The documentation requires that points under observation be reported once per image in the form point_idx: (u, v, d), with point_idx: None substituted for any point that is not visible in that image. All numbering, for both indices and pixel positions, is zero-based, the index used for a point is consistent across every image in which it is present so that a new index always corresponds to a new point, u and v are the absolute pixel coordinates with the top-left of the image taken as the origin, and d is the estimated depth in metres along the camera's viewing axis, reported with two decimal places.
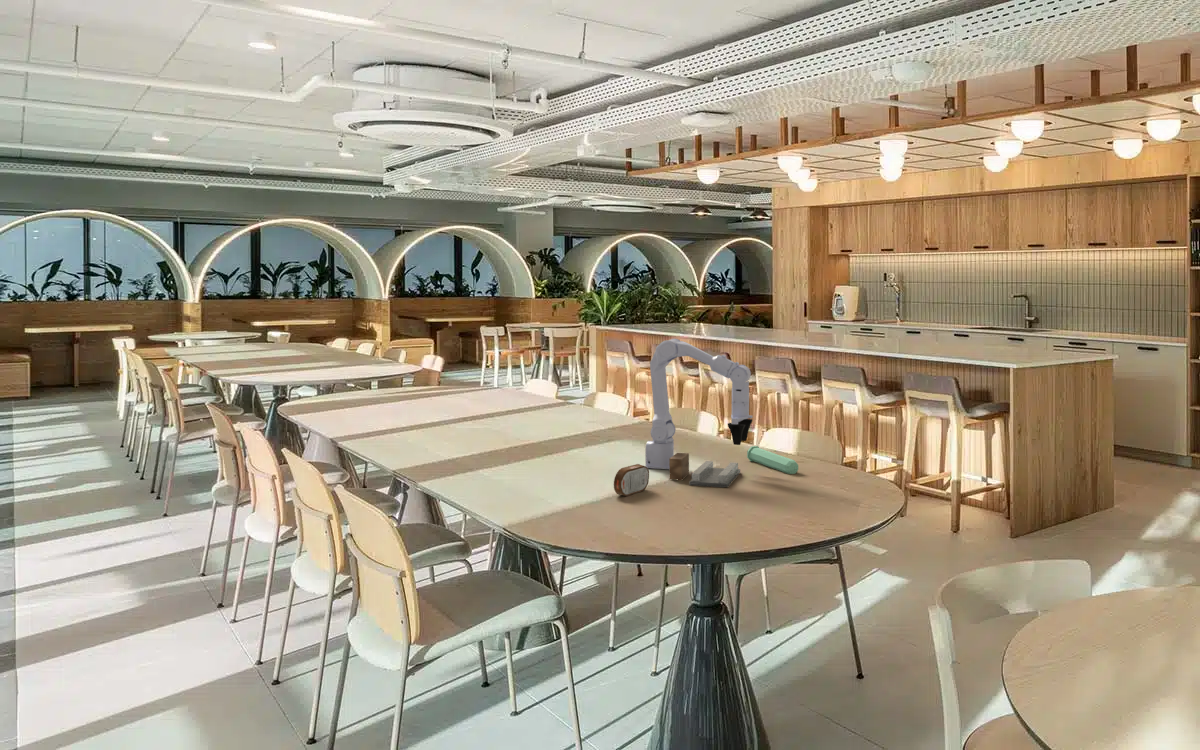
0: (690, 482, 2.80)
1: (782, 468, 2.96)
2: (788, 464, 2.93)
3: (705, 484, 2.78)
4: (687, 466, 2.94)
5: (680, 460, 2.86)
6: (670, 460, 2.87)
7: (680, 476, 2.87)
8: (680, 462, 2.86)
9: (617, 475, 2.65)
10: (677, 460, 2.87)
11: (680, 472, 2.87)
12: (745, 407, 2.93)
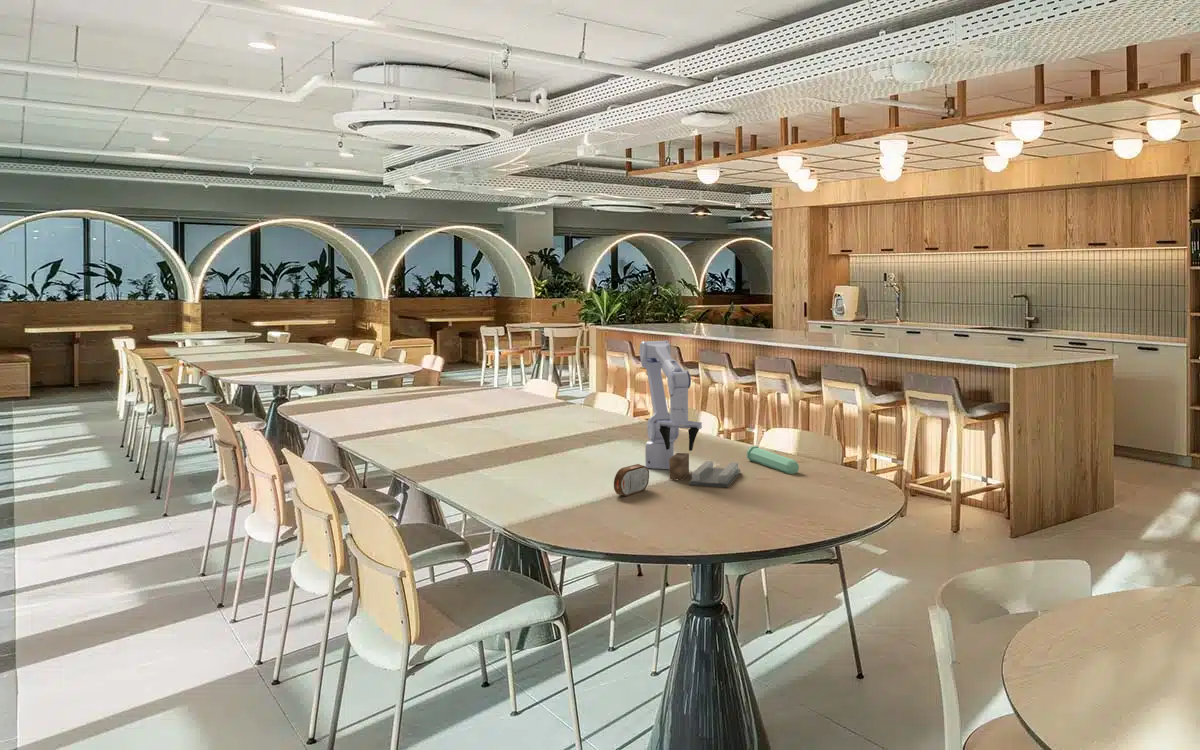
0: (690, 482, 2.80)
1: (782, 468, 2.96)
2: (788, 464, 2.93)
3: (705, 484, 2.78)
4: (687, 466, 2.94)
5: (680, 460, 2.86)
6: (670, 460, 2.87)
7: (680, 476, 2.87)
8: (680, 462, 2.86)
9: (617, 475, 2.65)
10: (677, 460, 2.87)
11: (680, 472, 2.87)
12: (672, 413, 2.89)
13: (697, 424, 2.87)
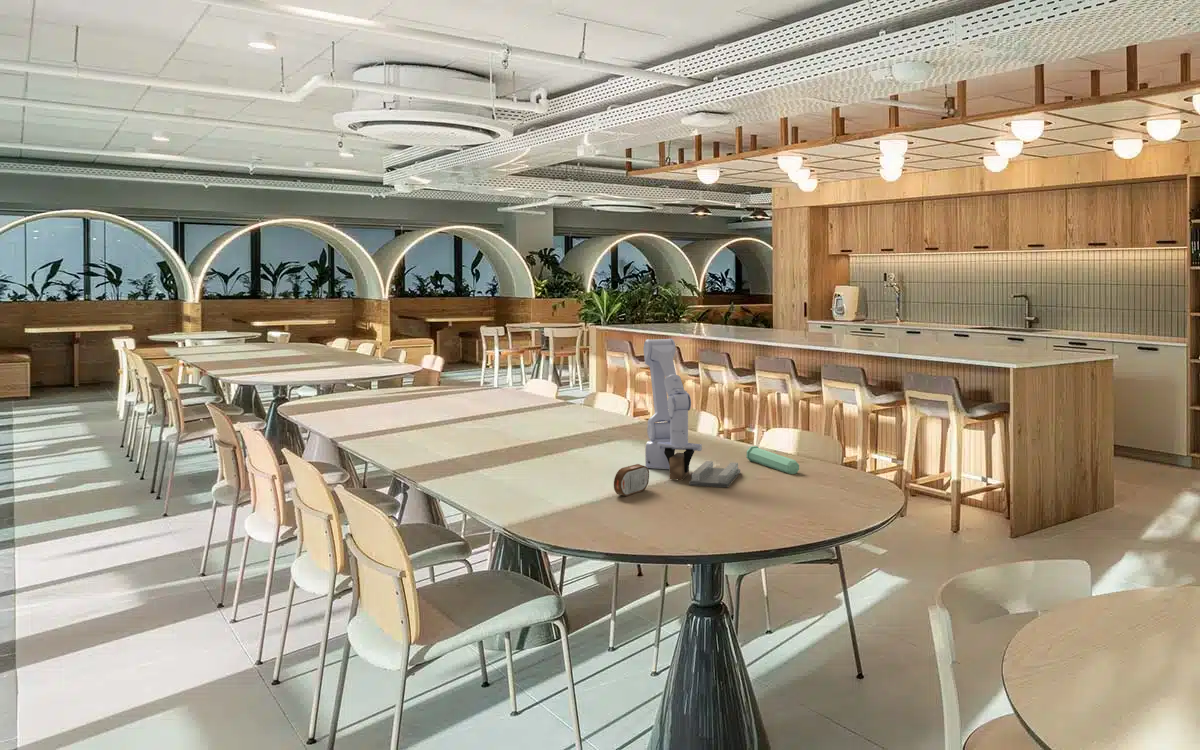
0: (690, 482, 2.80)
1: (783, 468, 2.96)
2: (789, 464, 2.93)
3: (705, 484, 2.78)
4: None
5: (680, 460, 2.86)
6: (670, 460, 2.87)
7: (680, 476, 2.87)
8: (680, 462, 2.86)
9: (617, 475, 2.65)
10: (677, 460, 2.87)
11: (680, 472, 2.87)
12: (672, 435, 2.89)
13: (697, 446, 2.88)
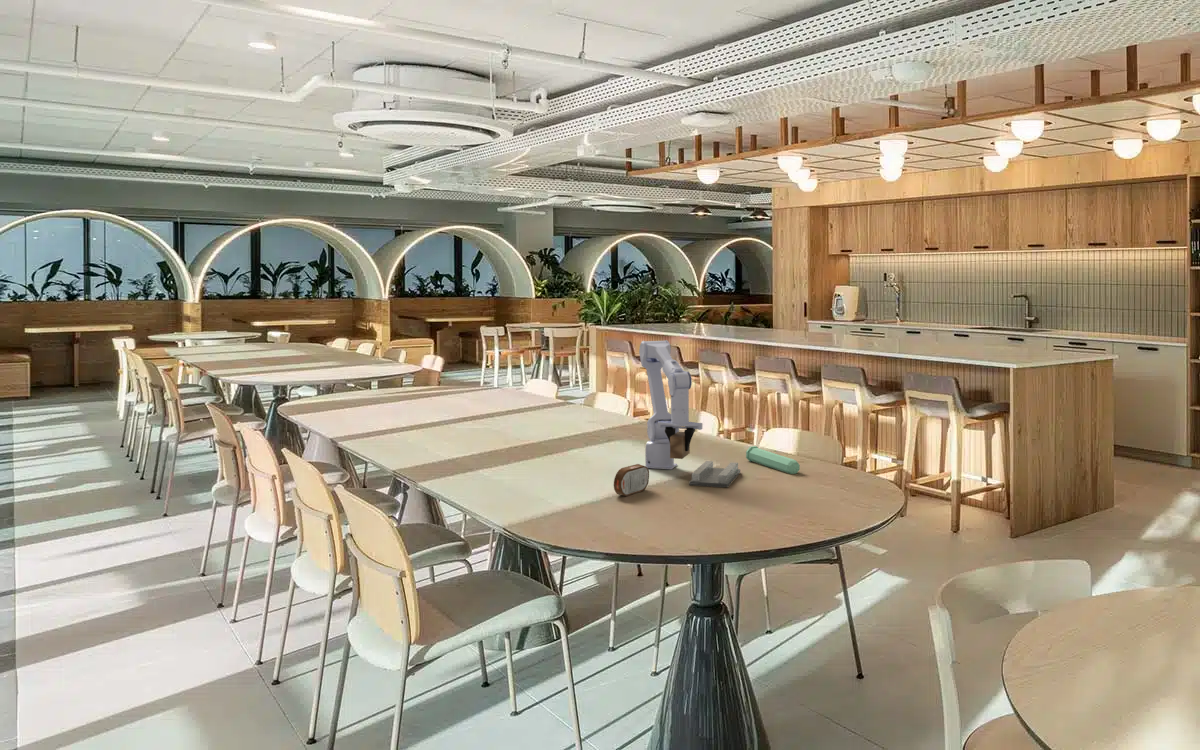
0: (690, 482, 2.80)
1: (783, 468, 2.96)
2: (790, 464, 2.93)
3: (705, 484, 2.78)
4: None
5: (681, 438, 2.85)
6: (671, 438, 2.87)
7: (681, 454, 2.86)
8: (681, 440, 2.86)
9: (617, 475, 2.65)
10: (678, 438, 2.86)
11: (681, 450, 2.86)
12: (672, 414, 2.88)
13: (698, 425, 2.87)
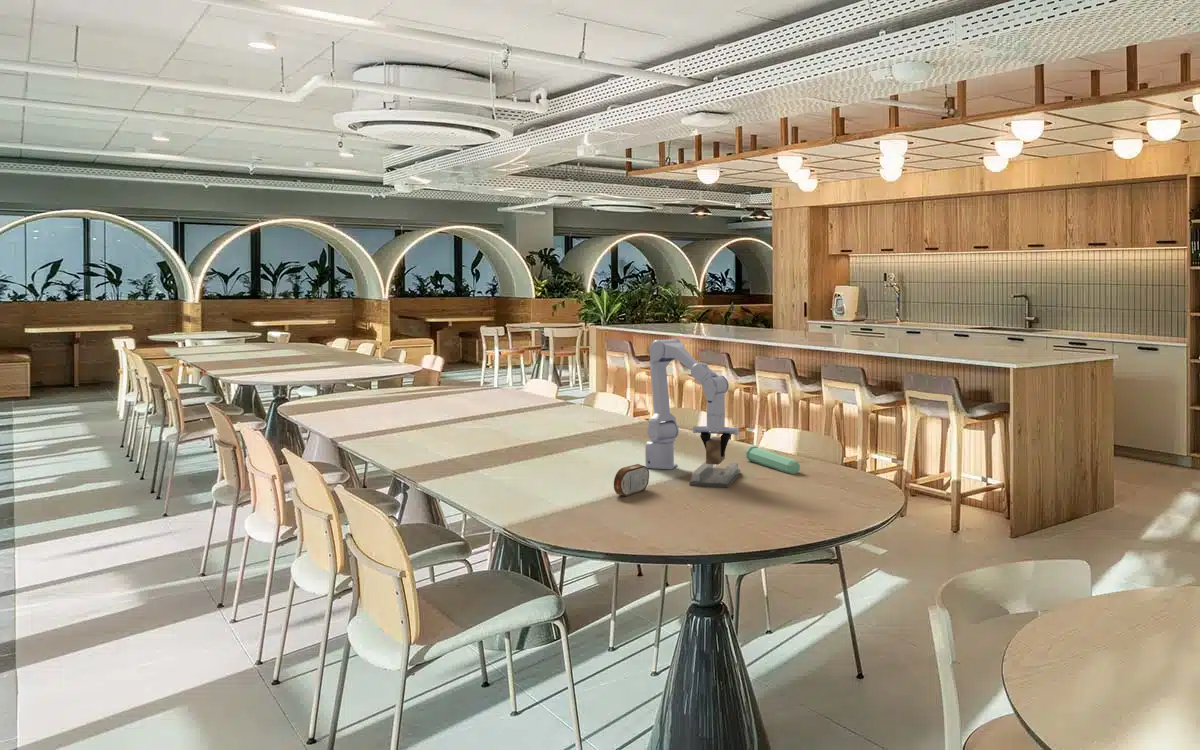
0: (690, 482, 2.80)
1: (783, 468, 2.96)
2: (790, 464, 2.93)
3: (705, 484, 2.78)
4: None
5: (717, 444, 2.82)
6: (707, 444, 2.83)
7: (717, 460, 2.82)
8: (717, 446, 2.82)
9: (617, 475, 2.65)
10: (714, 444, 2.82)
11: (717, 456, 2.82)
12: (708, 419, 2.85)
13: (734, 430, 2.84)
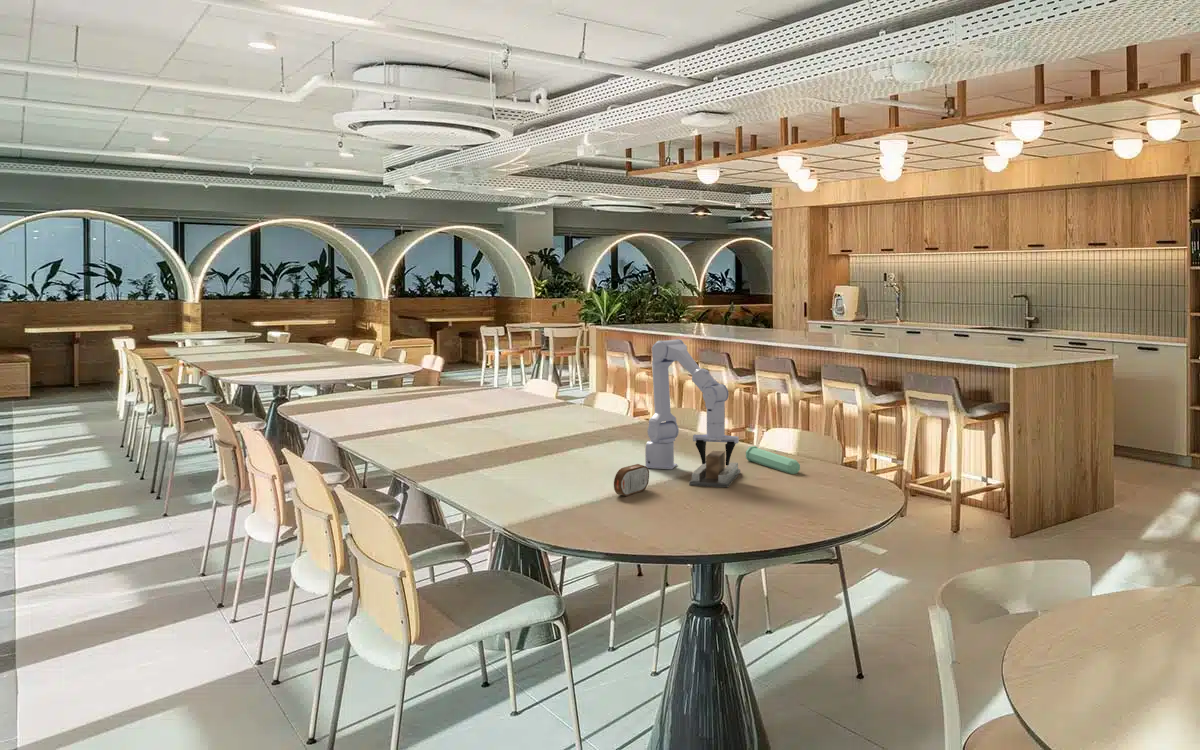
0: (690, 482, 2.80)
1: (784, 468, 2.96)
2: (790, 464, 2.94)
3: (705, 484, 2.78)
4: (723, 464, 2.90)
5: (717, 458, 2.82)
6: (707, 458, 2.83)
7: (717, 474, 2.83)
8: (717, 460, 2.82)
9: (617, 475, 2.65)
10: (714, 458, 2.83)
11: (717, 470, 2.83)
12: (708, 427, 2.85)
13: (734, 438, 2.84)
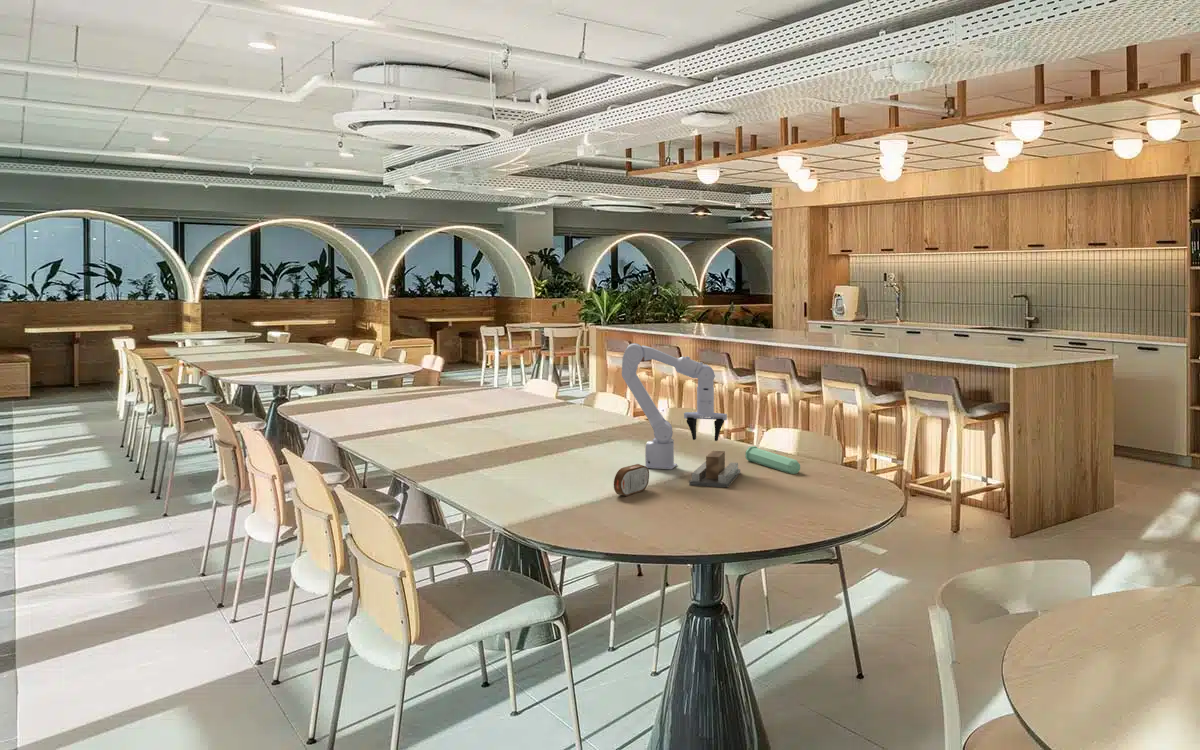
0: (690, 482, 2.80)
1: (784, 468, 2.96)
2: (790, 464, 2.94)
3: (705, 484, 2.78)
4: (723, 464, 2.90)
5: (717, 458, 2.82)
6: (707, 458, 2.83)
7: (717, 474, 2.83)
8: (717, 460, 2.82)
9: (617, 475, 2.65)
10: (714, 458, 2.83)
11: (717, 470, 2.83)
12: (698, 405, 3.03)
13: (722, 416, 3.02)
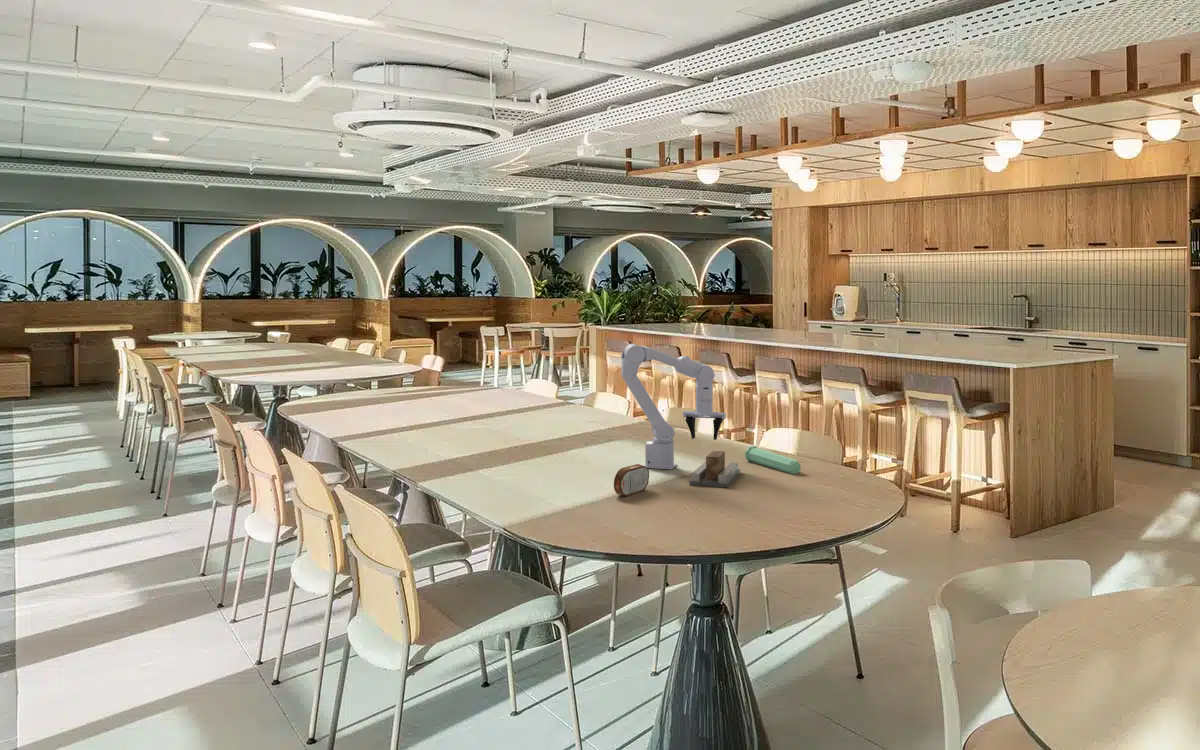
0: (690, 482, 2.80)
1: (784, 468, 2.96)
2: (791, 464, 2.94)
3: (705, 484, 2.78)
4: (723, 464, 2.90)
5: (717, 458, 2.82)
6: (707, 458, 2.83)
7: (717, 474, 2.83)
8: (717, 460, 2.82)
9: (617, 475, 2.65)
10: (714, 458, 2.83)
11: (717, 470, 2.83)
12: (697, 404, 3.05)
13: (721, 414, 3.04)
